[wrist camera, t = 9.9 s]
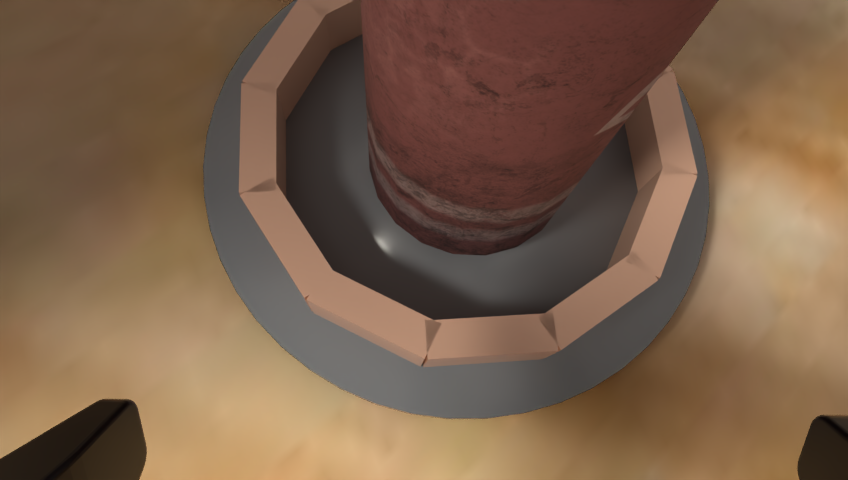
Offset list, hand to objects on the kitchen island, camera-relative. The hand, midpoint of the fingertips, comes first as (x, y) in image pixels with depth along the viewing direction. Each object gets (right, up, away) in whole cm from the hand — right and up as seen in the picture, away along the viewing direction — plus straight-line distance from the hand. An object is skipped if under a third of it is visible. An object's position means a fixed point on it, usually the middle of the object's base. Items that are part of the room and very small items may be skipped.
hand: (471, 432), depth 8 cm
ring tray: (0, +5, +12) cm, 13 cm away
